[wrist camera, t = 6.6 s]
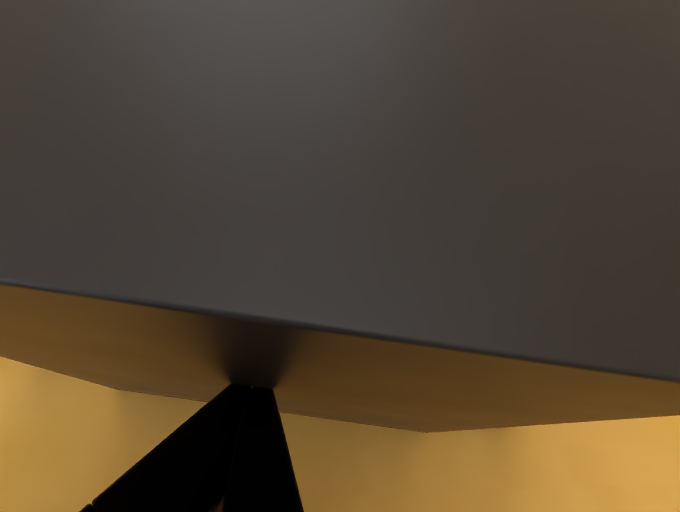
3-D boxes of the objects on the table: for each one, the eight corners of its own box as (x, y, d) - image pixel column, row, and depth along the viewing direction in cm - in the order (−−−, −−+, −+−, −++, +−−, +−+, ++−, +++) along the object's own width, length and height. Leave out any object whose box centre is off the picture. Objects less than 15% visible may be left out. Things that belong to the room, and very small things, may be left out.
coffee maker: (427, 432, 16) (839, 406, 4) (115, 389, 15) (-531, 206, 3) (442, 118, 21) (627, -301, 9) (211, 81, 21) (93, -401, 9)
